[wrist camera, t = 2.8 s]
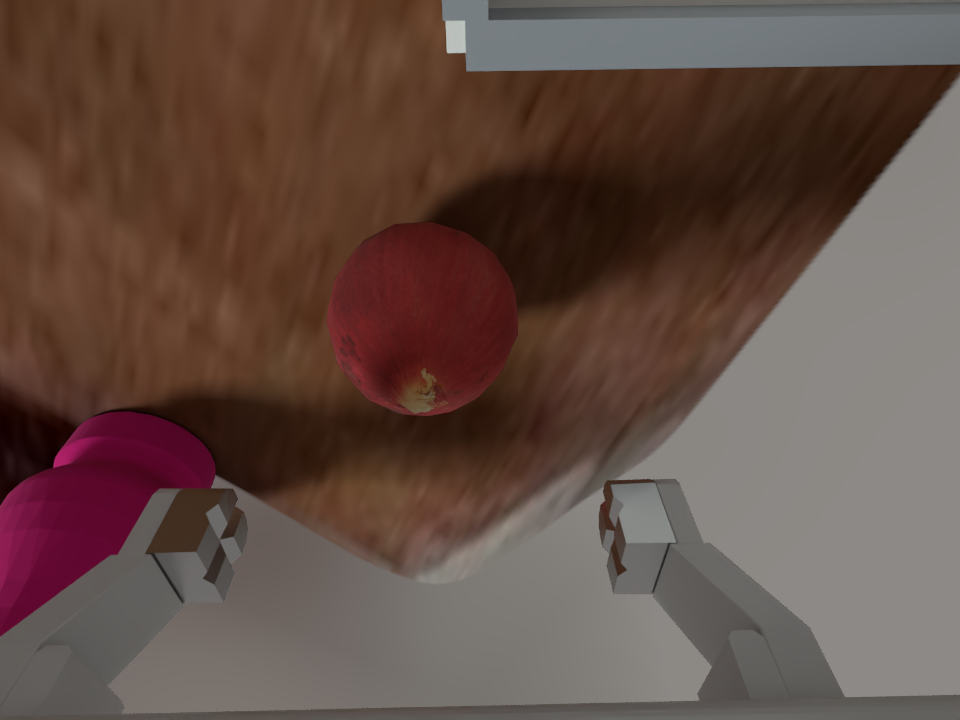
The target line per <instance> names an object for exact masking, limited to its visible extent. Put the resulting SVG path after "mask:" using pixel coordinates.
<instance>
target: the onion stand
mask: <svg viewBox="0 0 960 720" xmlns="http://www.w3.org/2000/svg"><path fill="white" fill-rule="evenodd" d="M442 13H443V21H446V41H447V53H466V69H467V71H521V70H592V69H663V68H734V67H805V66H877V65H948V64H960V0H442Z"/></svg>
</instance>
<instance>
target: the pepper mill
mask: <svg viewBox="0 0 960 720" xmlns="http://www.w3.org/2000/svg"><path fill="white" fill-rule="evenodd" d="M215 472H216V469H215V463H214V460H213V458H212V455H211V453H210V452H209V450H208V449H207V448H206V447H205V445H204V444H203V443H202V442H201V441H200V440H199V439H198V438H197V437H195V436H194V435H193V434H191V433H190V432H189V431H187V430H186V429H184V428H182V427H181V426H179V425H177V424H175V423H173V422H171V421H168V420H165V419H162V418H160V417H157V416H154V415H148V414H142V413H136V412H130V411H126V412H109V413H105V414H102V415H98V416H95V417H92V418H90V419H88V420H86V421H85V422H83V423H82V424H81V425H80V426H79V427H78V428H77V429H76V431H75V432H74V433H73V434H72V436H71V437H70V438H69V440H68V441H67V442H66V443H65V445H64V446H63V447H62V449H61V450H60V451H59V453H58V454H57V456H56V458H55V461H54V468H51V469H48V470H45V471H42V472H40V473H38V474H36V475H34V476H32V477H30V478H28V479H26V480H24V481H23V482H21V483H20V484H19V485H18V486H17V487H15V488H14V489H13V490H12V491H11V492H10V493H9V494H8V495H7V497H6V498H5V500H4V501H3V503H2V504H1V506H0V637H1V636H2V635H3V634H5V633H6V632H7V631H9V630H10V629H11V628H13V627H14V626H15V625H17V624H18V623H19V622H21V621H22V620H24V619H25V618H26V617H28V616H29V615H30V614H32V613H33V612H34V611H36V610H37V609H38V608H40V607H41V606H42V605H44V604H45V603H46V602H48V601H49V600H51V599H52V598H53V597H55V596H56V595H57V594H59V593H60V592H61V591H63V590H64V589H65V588H67V587H68V586H69V585H71V584H72V583H73V582H75V581H76V580H78V579H79V578H80V577H82V576H83V575H84V574H86V573H87V572H88V571H90V570H91V569H92V568H94V567H95V566H96V565H98V564H99V563H100V562H102V561H103V560H105V559H106V558H107V557H109V556H110V555H118V553H119V551H120V550H121V548H122V546H123V545H124V543H125V541H126V539H127V538H128V536H129V534H130V533H131V531H132V529H133V527H134V526H135V524H136V522H137V521H138V519H139V517H140V515H141V514H142V512H143V510H144V509H145V507H146V505H147V503H148V502H149V500H150V498H151V497H152V495H153V494H154V493H155V492H156V491H158V490H159V489H169V488H211V486H212V484H213V481H214V478H215Z"/></svg>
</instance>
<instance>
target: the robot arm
mask: <svg viewBox="0 0 960 720" xmlns="http://www.w3.org/2000/svg"><path fill="white" fill-rule="evenodd" d="M603 493H604V497H605V502H603V504H601V505H600V512H599V530H600V537H601V542H602V547H603V548H604V549H605V550H606V551H607V552H608V553H609V557H608V563H607V569H608V573H609V577H610V581H611V585H612V590H613V594H653V597H654V598H655V600H656V601H657V602H658V603H659V604H660V606H661V607H662V608H663V609H664V610H665V612H666V613H667V614H668V615H669V616H670V617H671V618H672V620H673V621H674V622H675V623H676V625H678V627H679V628H680V629H681V630H682V632H683V633H684V634H685V635H686V636H687V638H688V639H689V640H690V641H691V642H692V643H693V644H694V646H695V647H696V648H697V649H698V650H699V652H700V653H701V654H702V655H703V656H704V658H705V659H706V660H707V661H708V662H709V664H710V665H711V666H712V668H711V670H710V672H709V674H708V675H707V677H706V679H705V681H704V683H703V685H702V687H701V688H700V690H699V692H698V697H699V701H670V702H627V703H626V702H625V703H582V704H581V703H580V704H541V705H540V704H539V705H538V704H537V705H493V706H491V705H490V706H450V707H449V706H447V707H404V708H403V707H401V708H359V709H358V708H356V709H315V710H314V709H311V710H268V711H226V712H225V711H224V712H185V713H184V712H180V713H138V714H122V711H123V709H124V705H123V702H122V700H121V699H120V698H119V697H118V696H117V695H116V694H115V693H114V692H113V691H112V690H111V689H110V688H109V687H108V685H109V684H110V683H111V682H112V681H113V680H114V679H115V678H116V677H117V676H118V675H119V674H120V672H121V671H122V670H123V669H124V668H125V667H126V666H127V665H128V664H129V663H130V662H131V661H132V660H133V659H134V658H135V657H136V656H137V655H138V654H139V652H141V651H142V649H143V648H144V647H145V646H146V645H147V644H148V643H149V642H150V641H151V640H152V639H153V638H154V637H155V636H156V635H157V634H158V633H159V632H160V631H161V629H162V628H163V627H164V626H165V625H166V624H167V623H168V622H169V621H170V620H171V619H172V618H173V617H174V616H175V615H176V614H177V613H178V612H179V611H180V610H181V609H182V608H183V604H193V603H215V602H224V600H225V597H226V595H227V592H228V590H229V587H230V584H231V582H232V579H233V576H234V570H233V568H232V565H231V563H233V562H234V561H235V560H236V559H237V558H238V557H239V556H241V555H242V552H243V549H244V547H245V544H246V538H247V530H248V528H247V520H246V517H245V515H244V512H243V511H241V510H240V509H238V508H237V507H235V505H236V502H237V500H238V498H237V496H236V494H235V492H234V490H233V489H210V488H169V489H159V490H158V491H156V492H155V493H154V494H153V495H152V497H151V498H150V500H149V502H148V503H147V505H146V507H145V509H144V510H143V512H142V514H141V515H140V517H139V519H138V521H137V522H136V524H135V526H134V527H133V529H132V531H131V533H130V534H129V536H128V538H127V539H126V541H125V543H124V545H123V546H122V548H121V550H120V551H119V553H118V555H110V556H109V557H107V558H106V559H105V560H103V561H102V562H100V563H99V564H98V565H96V566H95V567H94V568H92V569H91V570H90V571H88V572H87V573H86V574H84V575H83V576H82V577H80V578H79V579H78V580H76V581H75V582H73V583H72V584H71V585H69V586H68V587H67V588H65V589H64V590H63V591H61V592H60V593H59V594H57V595H56V596H55V597H53V598H52V599H51V600H49V601H48V602H46V603H45V604H44V605H42V606H41V607H40V608H38V609H37V610H36V611H34V612H33V613H32V614H30V615H29V616H28V617H26V618H25V619H24V620H22V621H21V622H19V623H18V624H17V625H15V626H14V627H13V628H11V629H10V630H9V631H7V632H6V633H5V634H3V635H2V636H1V637H0V720H960V695H933V696H889V697H888V696H887V697H845V696H844V694H843V693H842V690H841V688H840V687H839V685H838V682H837V681H836V679H835V677H834V675H833V673H832V671H831V669H830V667H829V665H828V663H827V661H826V659H825V657H824V655H823V653H822V651H821V649H820V647H819V645H818V643H817V641H816V639H815V637H814V635H813V633H812V631H811V629H810V627H808V626H807V625H806V624H805V623H804V622H803V621H802V620H800V619H799V618H798V617H797V616H796V615H794V614H793V613H792V612H791V611H789V609H787V608H786V607H785V606H784V605H782V604H781V603H780V602H779V601H778V600H777V599H775V598H774V597H773V596H772V595H771V594H770V593H769V592H767V591H766V590H765V589H764V588H763V587H762V586H760V585H759V584H758V583H757V582H756V581H754V580H753V579H752V578H751V577H750V576H748V575H747V574H746V573H745V572H744V571H743V570H741V569H740V568H739V567H738V566H737V565H736V564H734V563H733V562H732V561H731V560H730V559H729V558H727V557H726V556H725V555H724V554H723V553H722V552H720V551H719V550H718V549H717V548H716V547H714V546H713V545H712V544H711V543H703V540H702V538H701V536H700V533H699V531H698V528H697V526H696V523H695V521H694V518H693V516H692V513H691V511H690V509H689V506H688V504H687V501H686V499H685V496H684V494H683V491H682V489H681V486H680V484H679V482H678V481H677V480H676V479H660V480H650V479H641V480H610V481H606V483H605V485H604V490H603Z"/></svg>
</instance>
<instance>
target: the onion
mask: <svg viewBox="0 0 960 720" xmlns="http://www.w3.org/2000/svg"><path fill="white" fill-rule="evenodd" d="M327 325H328V329H329V333H330V337H331V340H332V344H333V348H334V351H335V355H336V359H337V363H338V365H339V367H340V368H341V369H342V371H343V372H344V374H345V375H346V376H347V377H348V378H349V379H350V380H351V381H352V383H353V384H354V385H355V386H356V387H357V388H358V389H359V390H360V392H361V393H362V394H363V395H364V396H365V397H366V398H368V399H369V400H370V401H372V402H375V403H377V404H379V405H381V406H383V407H385V408H388V409H390V410H392V411H394V412H396V413H399V414H407V415H420V416H430V415H436V414H441V413H447V412H451V411H453V410H455V409H457V408H459V407H461V406H463V405H465V404H467V403H469V402H471V401H473V400H475V399H476V398H477V397H479V396H480V395H481V394H482V393H483V392H484V391H485V390H486V389H487V388H488V387H489V385H490V384H491V383H492V382H493V381H494V380H495V379H496V378H497V376H498V375H499V374H500V373H501V371H502V370H503V368H504V365H505V363H506V360H507V358H508V356H509V353H510V351H511V348H512V346H513V344H514V342H515V339H516V337H517V335H518V316H517V305H516V295H515V290H514V287H513V285H512V282H511V279H510V278H509V276H508V274H507V273H506V271H505V269H504V268H503V266H502V265H501V263H500V261H499V260H498V258H497V256H496V255H495V253H494V252H492V251H491V250H490V249H488V248H487V247H486V246H484V245H483V244H481V243H480V242H479V241H477V240H476V239H475V238H473V237H472V236H470V235H469V234H468V233H466V232H463V231H459V230H456V229H453V228H450V227H447V226H443V225H440V224H437V223H434V222H421V223H404V224H394V225H392V226H390V227H388V228H386V229H385V230H383V231H381V232H379V233H377V234H375V235H373V236H372V237H370V238H368V239H366V240H364V241H363V242H362V243H361V244H360V245H359V246H358V248H357V249H356V250H355V251H354V252H353V254H352V255H351V257H350V258H349V259H348V261H347V262H346V264H345V265H344V266H343V268H342V269H341V271H340V272H339V274H338V275H337V276H336V278H335V282H334V287H333V291H332V295H331V299H330V303H329V308H328V316H327Z"/></svg>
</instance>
